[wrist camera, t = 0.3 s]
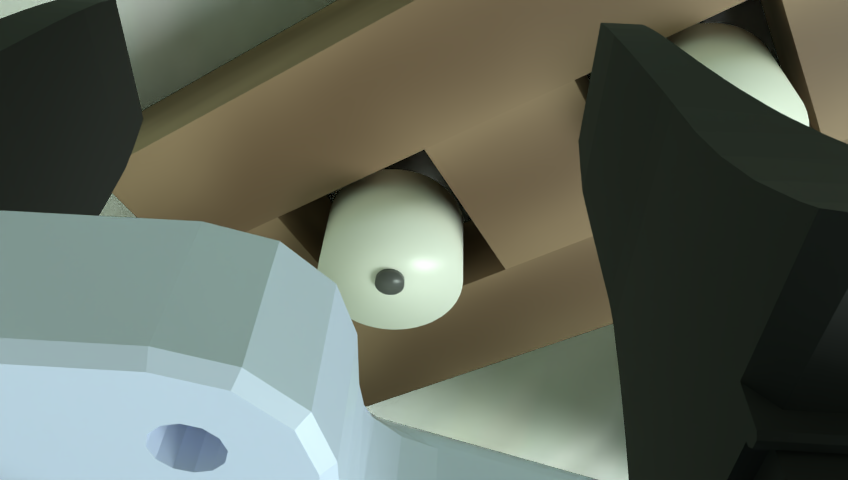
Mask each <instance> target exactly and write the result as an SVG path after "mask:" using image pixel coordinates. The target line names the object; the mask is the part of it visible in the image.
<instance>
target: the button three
mask: <svg viewBox="0 0 848 480" xmlns="http://www.w3.org/2000/svg"><path fill="white" fill-rule="evenodd" d="M666 38H667V39H668V40H669V41H671V42H672V43H674V44H675V45H677V46H678V47H679V48H681V49H682V50H684V51H685V52H686V53H688V54H689V55H691V56H692V57H693V58H695V59H696V60H698V61H699V62H700V63H702V64H703V65H705V66H706V67H708V68H709V69H710V70H712V71H713V72H715V73H716V74H718V75H719V76H721V77H722V78H724V79H725V80H727V81H728V82H730V83H731V84H733V85H734V86H736V87H738V88H739V89H741V90H742V91H744V92H746V93H747V94H749V95H751V96H752V97H754V98H756V99H757V100H759V101H761V102H762V103H764V104H766V105H767V106H769V107H771V108H773V109H775V110H776V111H778V112H780V113H782V114H784V115H786V116H788V117H790V118H792V119H794V120H796V121H798V122H800V123H802V124H804V125H806V126H808V127H809V119H808V114H807V111H806V108H805V106H804V103H803V102H802V100H801V99H800V97H799V95H798V94H797V92H796V91H795V89H794V88H793V86H792V85H791V83H790V82H789V80H788V79H787V77H786V76H785V74H784V73H783V71H782V70H781V68H780V66H779V65H778V63H777V62H776V60H775V59H774V57H773V56H772V54H771V53H770V51H769V50H768V48H767V47H766V45H765V44H764V43H763V42H762V41H761V40H760V39H759V38H757V37H756V36H755V35H754V34H752V33H750V32H748V31H747V30H745V29H742V28H740V27H737V26H734V25H729V24H724V23H700V24H695V25H692V26H690V27H688V28H686V29H684V30H682V31H679V32H677V33H675V34H673V35H671V36H669V37H666Z"/></svg>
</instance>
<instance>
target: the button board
mask: <svg viewBox="0 0 848 480" xmlns="http://www.w3.org/2000/svg"><path fill="white" fill-rule="evenodd" d="M744 1H746V0H337V1H335V2H333V3H332V4H330V5H328V6H326V7H325V8H323V9H321V10H319V11H318V12H316V13H314V14H312V15H310V16H309V17H307V18H305V19H303V20H302V21H300V22H298V23H296V24H295V25H293V26H291V27H289V28H288V29H286V30H284V31H282V32H281V33H279V34H277V35H275V36H274V37H272V38H270V39H268V40H266V41H265V42H263V43H261V44H259V45H258V46H256V47H254V48H252V49H251V50H249V51H247V52H245V53H244V54H242V55H240V56H238V57H237V58H235V59H233V60H231V61H229V62H228V63H226V64H224V65H222V66H221V67H219V68H217V69H215V70H214V71H212V72H210V73H208V74H207V75H205V76H203V77H201V78H200V79H198V80H196V81H194V82H192V83H191V84H189V85H187V86H185V87H184V88H182V89H180V90H178V91H177V92H175V93H173V94H171V95H170V96H168V97H166V98H164V99H163V100H161V101H159V102H157V103H156V104H154V105H152V106H150V107H148V108H147V109H145V110H143V111H142V115H143V122H142V125H141V128H140V131H139V133H138V136H137V139H136V142H135V145H134V148H133V151H132V153H131V156H130V158H129V161H128V163H127V166H126V168H125V170H124V172H123V174H122V176H121V178H120V180H119V181H118V183H117V185H116V187H115V188H114V190H113V192H112V193H113V194H114V195H115V196H116V197H117V198H118V199H119V200H120V201H121V202H122V203H123V204H124V205H125V206H126V207H127V208H128V209H129V210H130V211H131V212H132V213H133V214H134V215H135V216H136V217H137V218H149V219H168V220H186V221H203V222H207V223H211V224H215V225H218V226H222V227H226V228H230V229H234V230H238V231H242V232H246V233H250V234H254V235H258V236H262V237H266V238H270V239H274V240H278V241H280V242H282V243H283V244H284V245H286V246H287V247H288V248H289V249H291V250H292V251H293V252H295V253H296V254H297V255H299V256H300V257H301V258H303V259H304V260H305V261H307V262H308V263H309V264H311V265H312V266H313V267H315V268H316V269H318V263H319V258H320V254H321V249H322V245H323V240H324V236H325V231H326V227H327V222H328V218H329V213H330V209H331V206H332V202H331V201H330V199H329V198H328V197H327V196H326V195H327V194H329V193H331V192H333V191H336V190H338V189H340V188H342V187H344V186H346V185H349V184H351V183H353V182H355V181H357V180H359V179H362V178H364V177H366V176H368V175H370V174H372V173H375V172H377V171H379V170H381V169H383V168H385V167H388V166H390V165H392V164H394V163H396V162H398V161H400V160H403V159H405V158H407V157H409V156H411V155H413V154H416V153H418V152H420V151H422V150H425V151H426V153H427V154H428V156H429V157H430V159H431V160H432V162H433V163H434V165H435V166H436V168H437V169H438V171H439V172H440V173H441V175H442V176H443V178H444V179H445V181H446V182H447V184H448V185H449V187H450V188H451V190H452V191H453V193H454V194H455V196H456V197H457V199H458V200H459V201H460V203H461V204H462V206H463V207H464V209H465V210H466V212H467V213H468V215H469V216H470V218H471V219H472V220H470V221H468V222H465V223H463V285H462V290H461V293H460V296H459V298H458V300H457V302H456V303H455V304H454V306H453V307H452V308H451V309H450V310H449V311H448V312H447V313H446V314H444V315H443V316H442V317H440V318H438V319H437V320H435V321H433V322H431V323H428V324H426V325H422V326H419V327H415V328H410V329H398V330H391V329H381V328H375V327H371V326H367V325H364V324H361V323H358V322H356V321H354V320H352V319H351V320H352V322H353V325H354V327H355V330H356V332H357V339H358V366H359V385H360V390H361V394H362V398H363V402H364V405H365V407H366V406H369V405H372V404H375V403H378V402H381V401H384V400H387V399H390V398H393V397H396V396H399V395H402V394H405V393H408V392H411V391H414V390H417V389H420V388H423V387H426V386H429V385H432V384H435V383H438V382H441V381H444V380H447V379H450V378H452V377H455V376H458V375H461V374H464V373H467V372H470V371H473V370H476V369H479V368H482V367H485V366H488V365H491V364H494V363H497V362H500V361H503V360H506V359H509V358H512V357H515V356H518V355H521V354H524V353H527V352H530V351H533V350H536V349H539V348H542V347H545V346H548V345H551V344H554V343H557V342H559V341H562V340H565V339H568V338H571V337H574V336H577V335H580V334H583V333H586V332H589V331H592V330H595V329H598V328H601V327H604V326H607V325H610V324H613V319H612V314H611V309H610V303H609V299H608V295H607V291H606V287H605V283H604V279H603V275H602V271H601V267H600V263H599V258H598V254H597V250H596V246H595V242H594V238H593V234H592V230H591V226H590V222H589V218H588V213H587V209H586V205H585V201H584V196H583V191H582V181H581V170H580V157H579V143H578V140H579V135H580V130H581V125H582V119H583V114H584V109H585V103H586V98H587V93H588V87H589V79H588V77H587V75H586V74H589V73H591V72H592V66H593V61H594V56H595V50H596V45H597V40H598V35H599V29H600V24H601V23H620V24H640V25H645V26H647V27H649V28H651V29H653V30H654V31H656V32H658V33H659V34H661V35H662V36H664V37H665V38H666V37H669V36H671V35H673V34H675V33H677V32H679V31H682V30H684V29H686V28H688V27H690V26H692V25H695V24H697V23H699V22H701V21H703V20H705V19H708V18H710V17H712V16H714V15H716V14H718V13H721V12H723V11H725V10H727V9H729V8H731V7H733V6H736V5H738V4H740V3H742V2H744ZM760 1H761V5H762V8H763V11H764V14H765V17H766V21H767V24H768V27H769V30H770V33H771V37H772V40H773V43H774V46H775V49H776V53H777V56H778V59H779V62H780V66H781V69H782V71H783V73H784V74H785V76H786V77H787V79H788V80H789V82H790V83H791V85H792V86H793V88H794V89H795V91H796V92H797V94H798V95H799V97H800V99H801V100H802V102H803V103H804V106H805V108H806V111H807V114H808V119H809V127H811V128H813V129H815V130H817V131H819V132H821V133H823V134H825V135H827V136H830V137H832V138H834V139H837V140H839V141H842V142H844V143H846V144H848V0H760Z"/></svg>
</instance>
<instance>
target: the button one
mask: <svg viewBox="0 0 848 480" xmlns="http://www.w3.org/2000/svg"><path fill="white" fill-rule="evenodd" d="M317 270H319V271H320V272H321V273H323V274H324V275H325V276H327V277H328V278H329V279H331V280H332V281H333V282H335V283H336V284H337V286H338V289H339V291H340V294H341V296H342V298H343V301H344V303H345V306H346V308H347V310H348V313H349V315H350V318H351V319H352V320H354V321H356V322H358V323H361V324H364V325H367V326H371V327H375V328H381V329H391V330H398V329H410V328H415V327H419V326H422V325H426V324H428V323H431V322H433V321H435V320H437V319H438V318H440V317H442V316H443V315H444V314H446V313H447V312H448V311H449V310H450V309H451V308H452V307H453V306H454V304H455V303H456V302H457V300H458V298H459V296H460V293H461V290H462V285H463V217H462V212H461V210H460V207H459V205H458V203H457V201H456V200H455V198H454V197H453V196H452V194H451V193H450V192H449V191H448V190H447V189H446V188H445V187H443V186H442V185H441V184H439V183H438V182H436V181H435V180H433V179H431V178H429V177H427V176H425V175H422V174H419V173H416V172H412V171H407V170H399V169H385V170H379V171H377V172H375V173H372V174H370V175H368V176H366V177H364V178H362V179H359V180H357V181H355V182H353V183H351V184H349V185H346V186H344V187H343V188H342V189H341V190H340V191H339V193H338V194H337V195H336V197H335V199H334V201H333V203H332V206H331V209H330V213H329V218H328V222H327V227H326V231H325V236H324V240H323V245H322V249H321V254H320V258H319V263H318V269H317Z"/></svg>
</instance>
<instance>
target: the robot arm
mask: <svg viewBox="0 0 848 480" xmlns="http://www.w3.org/2000/svg"><path fill="white" fill-rule="evenodd" d="M142 122H143V115H142V110H141V106H140V102H139V98H138V93H137V89H136V85H135V81H134V76H133V72H132V68H131V64H130V59H129V55H128V51H127V47H126V42H125V38H124V34H123V30H122V25H121V21H120V17H119V13H118V8H117V4H116V0H55V1H51V2H48V3H44V4H41V5H38V6H35V7H32V8H29V9H26V10H23V11H20V12H17V13H15V14H12V15H9V16H6V17H4V18H1V19H0V480H597V479H593V478H590V477H586V476H583V475H579V474H576V473H572V472H569V471H565V470H562V469H558V468H555V467H551V466H547V465H544V464H540V463H537V462H533V461H530V460H526V459H523V458H519V457H516V456H512V455H509V454H505V453H501V452H498V451H494V450H491V449H487V448H484V447H480V446H477V445H473V444H470V443H466V442H463V441H459V440H455V439H452V438H448V437H445V436H441V435H438V434H434V433H431V432H427V431H424V430H420V429H417V428H413V427H409V426H406V425H402V424H399V423H395V422H392V421H388V420H385V419H381V418H378V417H376V416H374V415H373V414H371V413H370V412H369V411H368V410H367V408H366V407H365V405H364V402H363V398H362V394H361V390H360V385H359V366H358V339H357V332H356V330H355V327H354V325H353V322H352V320H351V318H350V315H349V313H348V310H347V308H346V306H345V303H344V301H343V298H342V296H341V294H340V291H339V289H338V286H337V284H336V283H335V282H333V281H332V280H331V279H329V278H328V277H327V276H325V275H324V274H323V273H321V272H320V271H319V270H317V269H316V268H315V267H313V266H312V265H311V264H309V263H308V262H307V261H305V260H304V259H303V258H301V257H300V256H299V255H297V254H296V253H295V252H293V251H292V250H291V249H289V248H288V247H287V246H286V245H284V244H283V243H282V242H280V241H278V240H274V239H270V238H266V237H262V236H258V235H254V234H250V233H246V232H242V231H238V230H234V229H230V228H226V227H222V226H218V225H215V224H211V223H207V222H203V221H186V220H168V219H149V218H131V217H112V216H99V214H100V213H101V211H102V209H103V208H104V206H105V204H106V202H107V201H108V199H109V197H110V195H111V194H112V192H113V190H114V188H115V187H116V185H117V183H118V181H119V180H120V178H121V176H122V174H123V172H124V170H125V168H126V166H127V163H128V161H129V158H130V156H131V153H132V151H133V148H134V145H135V142H136V139H137V136H138V133H139V131H140V128H141V125H142ZM578 143H579V157H580V170H581V181H582V191H583V196H584V201H585V205H586V209H587V213H588V218H589V222H590V226H591V230H592V234H593V238H594V242H595V246H596V250H597V254H598V258H599V263H600V267H601V271H602V275H603V279H604V283H605V287H606V291H607V295H608V299H609V303H610V309H611V314H612V319H613V324H614V332H615V340H616V349H617V358H618V366H619V375H620V384H621V394H622V404H623V415H624V425H625V435H626V448H627V461H628V474H629V480H848V144H846V143H844V142H842V141H839V140H837V139H834V138H832V137H830V136H827V135H825V134H823V133H821V132H819V131H817V130H815V129H813V128H811V127H808V126H806V125H804V124H802V123H800V122H798V121H796V120H794V119H792V118H790V117H788V116H786V115H784V114H782V113H780V112H778V111H776V110H775V109H773V108H771V107H769V106H767V105H766V104H764V103H762V102H761V101H759V100H757V99H756V98H754V97H752V96H751V95H749V94H747V93H746V92H744V91H742V90H741V89H739V88H738V87H736V86H734V85H733V84H731V83H730V82H728V81H727V80H725V79H724V78H722V77H721V76H719V75H718V74H716V73H715V72H713V71H712V70H710V69H709V68H708V67H706V66H705V65H703V64H702V63H700V62H699V61H698V60H696V59H695V58H693V57H692V56H691V55H689V54H688V53H686V52H685V51H684V50H682V49H681V48H679V47H678V46H677V45H675V44H674V43H672V42H671V41H669V40H668V39H667V38H665V37H664V36H662V35H661V34H659V33H658V32H656V31H654V30H653V29H651V28H649V27H647V26H645V25H640V24H620V23H601V24H600V29H599V35H598V40H597V45H596V50H595V56H594V61H593V66H592V72H591V77H590V82H589V87H588V93H587V98H586V103H585V109H584V114H583V119H582V125H581V130H580V135H579V140H578Z"/></svg>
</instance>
